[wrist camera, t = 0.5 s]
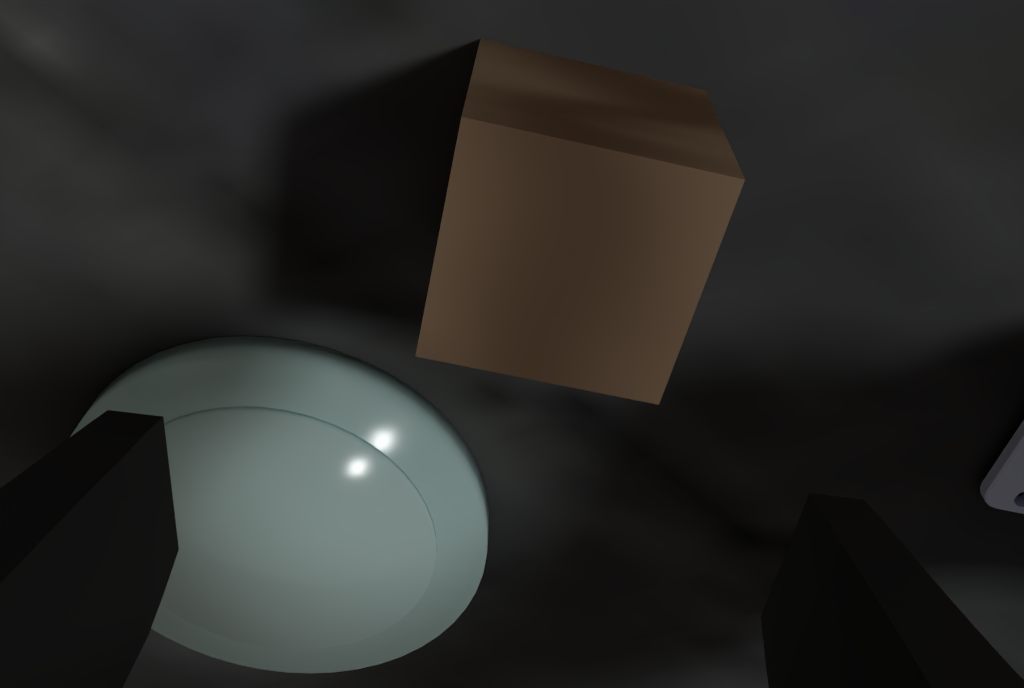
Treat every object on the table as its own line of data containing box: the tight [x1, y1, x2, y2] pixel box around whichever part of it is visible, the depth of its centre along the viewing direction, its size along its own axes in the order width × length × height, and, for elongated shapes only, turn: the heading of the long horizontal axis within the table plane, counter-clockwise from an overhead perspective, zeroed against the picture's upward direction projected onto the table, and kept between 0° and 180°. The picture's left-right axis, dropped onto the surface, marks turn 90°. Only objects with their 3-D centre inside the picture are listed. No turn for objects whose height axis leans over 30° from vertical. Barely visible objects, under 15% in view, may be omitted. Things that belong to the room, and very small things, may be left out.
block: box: [416, 39, 745, 405], centre depth 17 cm, size 4×4×4 cm
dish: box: [70, 336, 489, 673], centre depth 24 cm, size 11×11×1 cm
